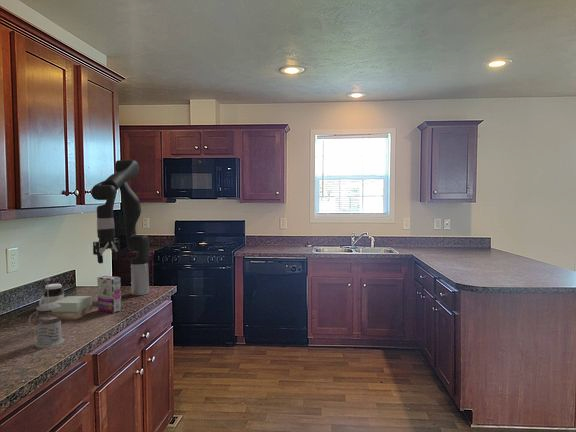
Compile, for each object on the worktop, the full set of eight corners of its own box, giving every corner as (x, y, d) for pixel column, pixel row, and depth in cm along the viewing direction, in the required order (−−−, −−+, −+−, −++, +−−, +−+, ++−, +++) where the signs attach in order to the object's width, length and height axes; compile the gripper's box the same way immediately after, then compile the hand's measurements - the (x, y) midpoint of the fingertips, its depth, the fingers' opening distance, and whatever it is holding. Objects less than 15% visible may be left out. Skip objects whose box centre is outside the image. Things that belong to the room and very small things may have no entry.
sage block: (68, 304, 193) (67, 296, 193) (92, 304, 192) (91, 296, 192) (51, 311, 181) (51, 302, 181) (77, 311, 180) (76, 303, 180)
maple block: (68, 312, 193) (67, 304, 193) (91, 312, 192) (91, 304, 192) (51, 320, 181) (51, 311, 181) (76, 320, 180) (76, 311, 180)
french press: (61, 345, 149) (58, 279, 147) (25, 349, 145) (22, 281, 144) (67, 336, 158) (65, 274, 157) (34, 340, 155) (31, 276, 154)
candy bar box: (122, 310, 193) (121, 277, 192) (113, 313, 189) (112, 279, 188) (106, 307, 198) (105, 275, 197) (97, 310, 194) (96, 277, 193)
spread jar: (58, 310, 194) (57, 287, 193) (33, 312, 192) (32, 288, 192) (68, 304, 206) (67, 281, 205) (44, 305, 204) (43, 282, 203)
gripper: (111, 225, 196) (112, 258, 197) (87, 229, 183) (89, 264, 184) (123, 226, 193) (125, 259, 195) (100, 229, 180) (102, 265, 181)
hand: (107, 261), depth 189 cm, fingers open, 8 cm apart
